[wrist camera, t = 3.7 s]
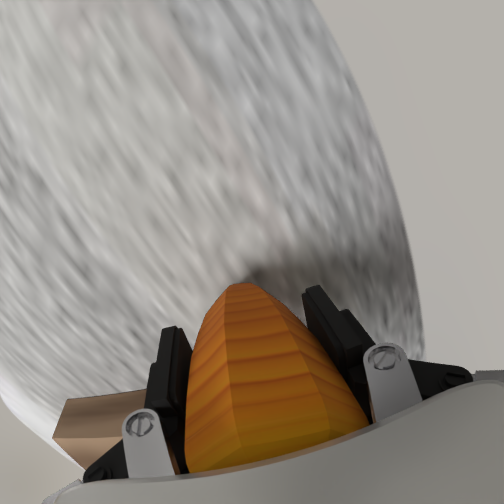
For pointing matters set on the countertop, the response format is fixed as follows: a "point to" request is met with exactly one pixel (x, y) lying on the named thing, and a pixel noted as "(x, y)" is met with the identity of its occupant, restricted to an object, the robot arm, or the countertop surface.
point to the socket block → (94, 424)
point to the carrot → (261, 385)
